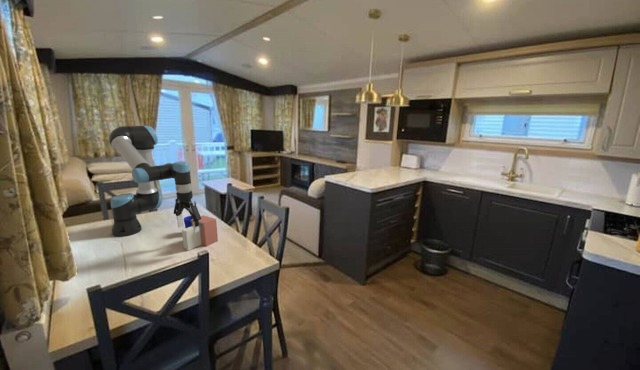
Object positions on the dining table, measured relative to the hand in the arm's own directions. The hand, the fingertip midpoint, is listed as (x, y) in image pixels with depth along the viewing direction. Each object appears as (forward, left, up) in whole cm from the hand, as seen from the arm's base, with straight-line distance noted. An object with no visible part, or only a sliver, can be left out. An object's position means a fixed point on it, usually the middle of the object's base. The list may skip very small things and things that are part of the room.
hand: (188, 229), depth 150 cm
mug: (-15, +14, -12) cm, 24 cm away
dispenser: (0, +10, -11) cm, 15 cm away
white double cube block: (0, +5, -11) cm, 12 cm away
